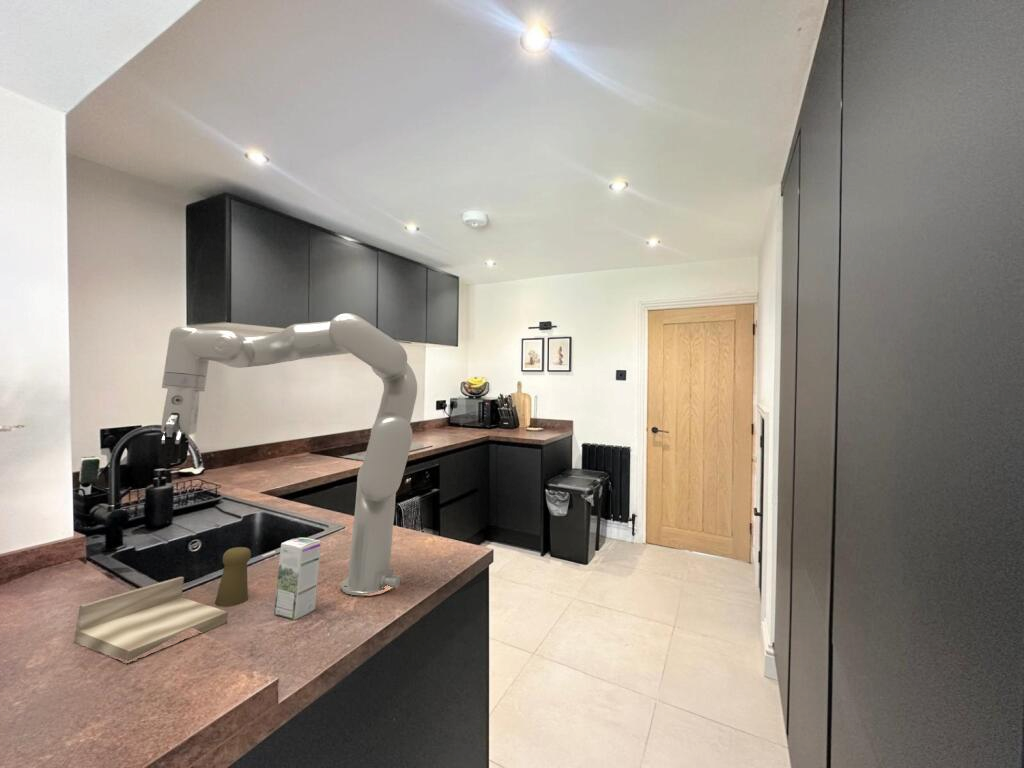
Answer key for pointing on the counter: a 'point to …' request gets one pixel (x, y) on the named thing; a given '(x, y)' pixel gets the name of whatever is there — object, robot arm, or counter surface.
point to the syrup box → (297, 577)
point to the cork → (234, 578)
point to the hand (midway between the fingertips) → (173, 461)
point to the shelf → (142, 619)
